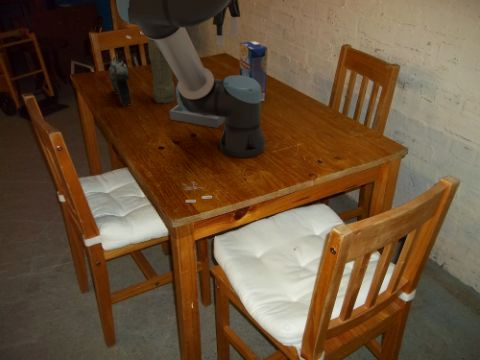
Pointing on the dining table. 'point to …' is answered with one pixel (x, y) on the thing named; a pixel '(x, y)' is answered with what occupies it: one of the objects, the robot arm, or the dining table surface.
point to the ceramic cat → (120, 80)
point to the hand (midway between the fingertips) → (227, 40)
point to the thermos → (161, 75)
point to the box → (195, 117)
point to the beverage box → (254, 63)
